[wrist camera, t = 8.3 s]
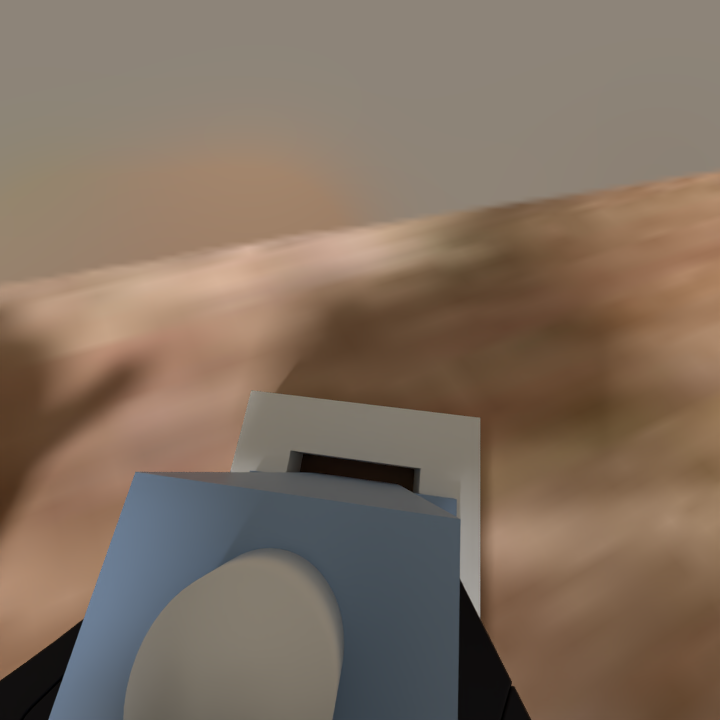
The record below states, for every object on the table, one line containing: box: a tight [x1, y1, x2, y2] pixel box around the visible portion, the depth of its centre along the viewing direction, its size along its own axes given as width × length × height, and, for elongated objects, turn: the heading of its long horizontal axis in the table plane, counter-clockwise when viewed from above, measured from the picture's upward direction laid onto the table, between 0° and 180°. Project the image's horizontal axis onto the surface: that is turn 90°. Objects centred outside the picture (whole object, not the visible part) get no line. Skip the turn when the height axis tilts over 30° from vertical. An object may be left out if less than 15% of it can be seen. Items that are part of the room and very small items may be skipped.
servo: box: [48, 471, 461, 720], centre depth 9 cm, size 5×9×13 cm, turn 83°
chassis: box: [230, 390, 480, 617], centre depth 12 cm, size 21×11×3 cm, turn 172°
